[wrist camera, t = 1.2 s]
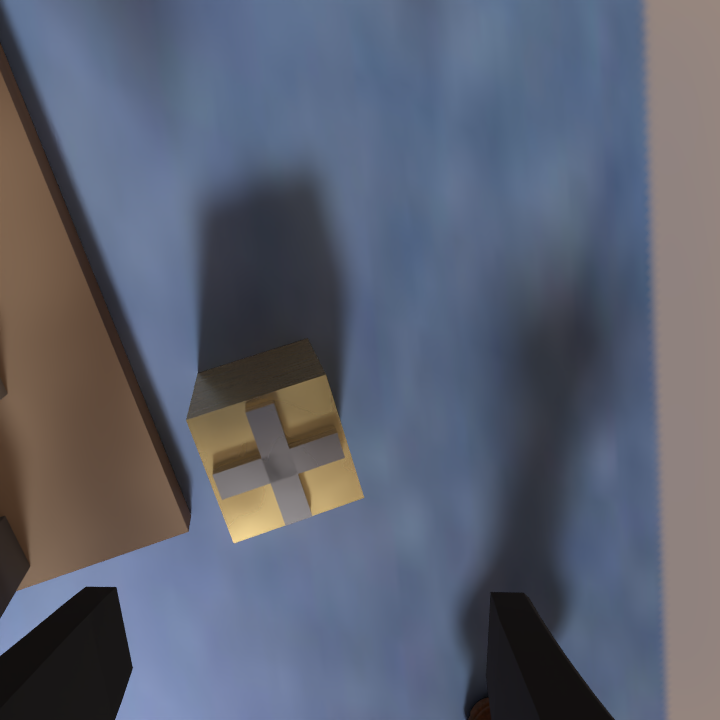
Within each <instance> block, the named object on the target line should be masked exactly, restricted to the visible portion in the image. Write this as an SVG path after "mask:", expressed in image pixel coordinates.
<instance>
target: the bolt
mask: <svg viewBox="0 0 720 720" xmlns="http://www.w3.org/2000/svg"><path fill="white" fill-rule="evenodd" d="M470 714H471V715H470V717H469V719H468V720H491V713H490V705H489V697H487V698H484V699H481V700H480V701H479V702H477V703H476V704H475V705H474V707H473V708H472V710H471V711H470Z"/></svg>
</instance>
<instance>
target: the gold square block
mask: <svg viewBox="0 0 720 720" xmlns="http://www.w3.org/2000/svg"><path fill="white" fill-rule="evenodd" d="M186 421H187V423H188V426H189V429H190V431H191V434H192V436H193V439H194V442H195V444H196V447H197V449H198V452H199V454H200V457H201V460H202V462H203V465H204V467H205V470H206V473H207V475H208V478H209V480H210V483H211V485H212V488H213V491H214V493H215V496H216V498H217V501H218V504H219V506H220V509H221V511H222V514H223V516H224V519H225V522H226V524H227V527H228V529H229V532H230V535H231V537H232V540H233V542H234V543H236V542H239V541H242V540H245V539H248V538H250V537H253V536H256V535H259V534H262V533H265V532H268V531H270V530H273V529H276V528H279V527H282V526H285V525H289V524H292V523H295V522H298V521H301V520H303V519H306V518H309V517H312V516H313V515H316V514H319V513H322V512H325V511H328V510H330V509H333V508H336V507H339V506H342V505H345V504H348V503H350V502H353V501H356V500H359V499H362V498H364V496H363V493H362V489H361V486H360V483H359V480H358V477H357V473H356V470H355V467H354V464H353V460H352V457H351V454H350V451H349V447H348V444H347V441H346V438H345V435H344V431H343V428H342V425H341V422H340V418H339V415H338V412H337V409H336V405H335V402H334V399H333V396H332V392H331V389H330V386H329V383H328V380H327V376H326V374H325V372H324V370H323V368H322V366H321V364H320V362H319V360H318V358H317V356H316V354H315V352H314V350H313V348H312V346H311V344H310V342H309V340H308V338H307V339H303V340H300V341H297V342H294V343H291V344H288V345H285V346H281V347H278V348H275V349H272V350H269V351H266V352H263V353H259V354H256V355H253V356H250V357H247V358H244V359H241V360H237V361H234V362H231V363H228V364H225V365H222V366H219V367H215V368H212V369H209V370H206V371H203V372H200V373H198V374H197V378H196V382H195V386H194V391H193V395H192V399H191V403H190V407H189V411H188V415H187V419H186Z"/></svg>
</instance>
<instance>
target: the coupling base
mask: <svg viewBox="0 0 720 720" xmlns="http://www.w3.org/2000/svg"><path fill="white" fill-rule="evenodd" d="M190 519H191V514H190V511H189V509H188V506H187V504H186V501H185V499H184V496H183V494H182V491H181V489H180V486H179V484H178V482H177V479H176V477H175V474H174V472H173V469H172V467H171V464H170V462H169V459H168V457H167V454H166V452H165V449H164V447H163V444H162V442H161V439H160V437H159V434H158V432H157V430H156V427H155V425H154V422H153V420H152V417H151V415H150V412H149V410H148V407H147V405H146V402H145V400H144V397H143V395H142V392H141V390H140V387H139V385H138V382H137V380H136V378H135V375H134V373H133V370H132V368H131V365H130V363H129V360H128V358H127V355H126V353H125V350H124V348H123V345H122V343H121V340H120V338H119V335H118V333H117V330H116V328H115V326H114V323H113V321H112V318H111V316H110V313H109V311H108V308H107V306H106V303H105V301H104V298H103V296H102V293H101V291H100V288H99V286H98V283H97V281H96V278H95V276H94V273H93V271H92V269H91V266H90V264H89V261H88V259H87V256H86V254H85V251H84V249H83V246H82V244H81V241H80V239H79V236H78V234H77V231H76V229H75V226H74V224H73V221H72V219H71V217H70V214H69V212H68V209H67V207H66V204H65V202H64V199H63V197H62V194H61V192H60V189H59V187H58V184H57V182H56V179H55V177H54V174H53V172H52V169H51V167H50V165H49V162H48V160H47V157H46V155H45V152H44V150H43V147H42V145H41V142H40V140H39V137H38V135H37V132H36V130H35V127H34V125H33V122H32V120H31V117H30V115H29V113H28V110H27V108H26V105H25V103H24V100H23V98H22V95H21V93H20V90H19V88H18V85H17V83H16V80H15V78H14V75H13V73H12V70H11V68H10V65H9V63H8V61H7V58H6V56H5V53H4V51H3V48H2V46H1V43H0V618H1V616H2V615H3V613H4V611H5V609H6V608H7V606H8V604H9V602H10V601H11V599H12V597H13V596H14V594H15V592H16V591H18V590H21V589H24V588H27V587H30V586H32V585H35V584H38V583H41V582H44V581H47V580H50V579H53V578H56V577H58V576H61V575H64V574H67V573H70V572H73V571H76V570H79V569H82V568H85V567H87V566H90V565H93V564H96V563H99V562H102V561H105V560H108V559H111V558H114V557H116V556H119V555H122V554H125V553H128V552H131V551H134V550H137V549H140V548H142V547H145V546H148V545H151V544H154V543H157V542H160V541H163V540H166V539H169V538H171V537H174V536H177V535H180V534H183V533H186V532H189V526H190Z"/></svg>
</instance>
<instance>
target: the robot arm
mask: <svg viewBox="0 0 720 720" xmlns="http://www.w3.org/2000/svg"><path fill="white" fill-rule="evenodd" d="M132 669H133V667H132V662H131V657H130V652H129V647H128V642H127V637H126V633H125V628H124V623H123V618H122V613H121V608H120V603H119V598H118V593H117V588H116V587H85V588H84V589H82V590H81V591H80V592H79V593H77V594H76V595H75V596H73V597H72V598H71V599H70V600H68V601H67V602H66V603H65V604H63V605H62V606H61V607H60V608H58V609H57V610H56V611H55V612H54V613H52V614H51V615H50V616H49V617H48V618H46V619H45V620H44V621H43V622H41V623H40V624H39V625H38V626H37V627H35V628H34V629H33V630H32V631H31V632H29V633H28V634H27V635H26V636H24V637H23V638H22V639H21V640H19V641H18V642H17V643H16V644H15V645H13V646H12V647H11V648H10V649H8V650H7V651H6V652H5V653H3V654H2V655H1V656H0V720H115V718H116V715H117V713H118V710H119V707H120V705H121V702H122V699H123V696H124V693H125V690H126V687H127V684H128V681H129V678H130V675H131V672H132ZM486 679H487V688H488V696H489V705H490V713H491V720H615V719H614V718H613V717H612V716H611V714H610V713H609V712H608V711H607V710H606V708H605V707H604V706H603V704H602V703H601V702H600V701H599V699H598V698H597V697H596V696H595V694H594V693H593V692H592V690H591V689H590V688H589V686H588V685H587V684H586V682H585V681H584V680H583V678H582V677H581V676H580V674H579V673H578V671H577V670H576V669H575V667H574V666H573V665H572V663H571V662H570V661H569V659H568V658H567V656H566V655H565V653H564V652H563V651H562V649H561V648H560V646H559V645H558V643H557V642H556V640H555V639H554V637H553V636H552V634H551V633H550V631H549V630H548V628H547V627H546V625H545V623H544V622H543V620H542V619H541V617H540V615H539V614H538V612H537V611H536V609H535V607H534V606H533V604H532V602H531V600H530V599H529V597H528V596H527V595H525V594H524V593H508V592H491V594H490V613H489V632H488V650H487V669H486Z"/></svg>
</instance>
